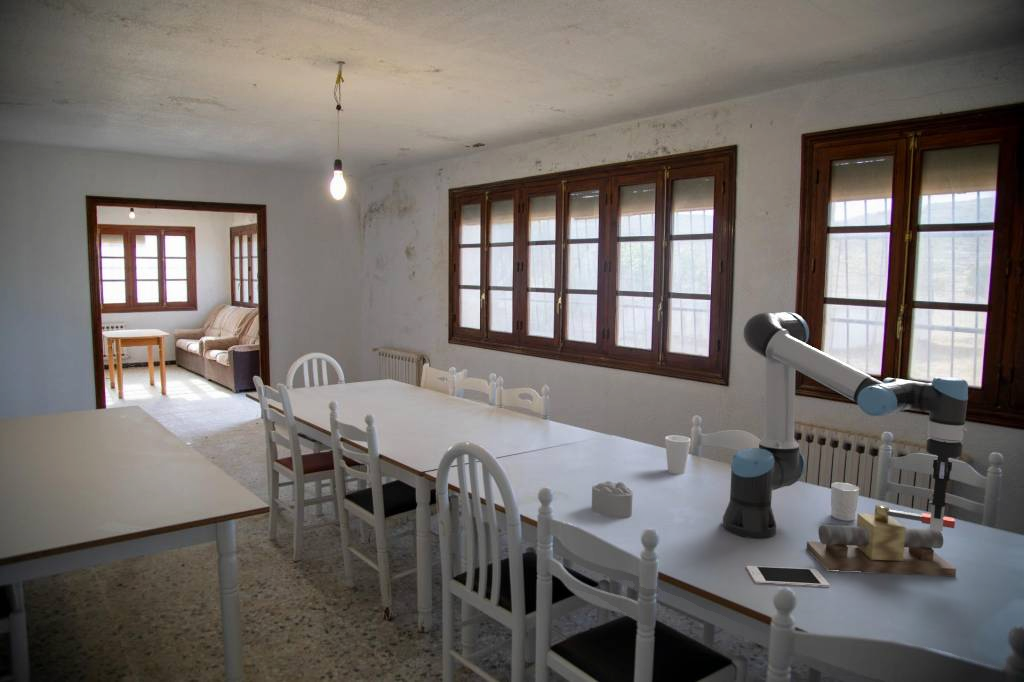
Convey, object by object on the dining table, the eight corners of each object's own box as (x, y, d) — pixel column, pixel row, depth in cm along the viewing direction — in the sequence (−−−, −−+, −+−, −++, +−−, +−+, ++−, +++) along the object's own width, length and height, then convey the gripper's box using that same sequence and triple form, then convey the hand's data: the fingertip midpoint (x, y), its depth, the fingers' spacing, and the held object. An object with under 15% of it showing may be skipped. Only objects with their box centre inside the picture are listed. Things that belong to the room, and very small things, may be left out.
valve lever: (953, 533, 164) (955, 520, 164) (874, 520, 173) (875, 507, 172) (952, 529, 167) (953, 516, 167) (874, 516, 176) (875, 503, 175)
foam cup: (669, 466, 257) (671, 434, 255) (692, 470, 251) (694, 437, 250) (660, 472, 249) (661, 439, 248) (683, 477, 244) (684, 443, 242)
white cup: (825, 517, 206) (827, 486, 205) (833, 510, 212) (835, 480, 211) (852, 523, 201) (855, 492, 200) (860, 517, 206) (862, 486, 205)
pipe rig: (828, 571, 169) (831, 528, 167) (806, 548, 182) (809, 508, 181) (955, 576, 167) (959, 533, 166) (924, 552, 181) (927, 512, 180)
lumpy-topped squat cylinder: (608, 501, 217) (609, 476, 216) (639, 513, 207) (640, 487, 206) (587, 509, 210) (588, 483, 209) (618, 521, 200) (619, 494, 199)
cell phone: (745, 568, 170) (745, 565, 170) (816, 572, 169) (816, 568, 169) (755, 584, 162) (755, 581, 161) (830, 588, 160) (830, 585, 160)
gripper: (963, 446, 156) (953, 541, 158) (962, 436, 167) (953, 525, 169) (926, 441, 160) (917, 533, 163) (928, 431, 171) (919, 518, 173)
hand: (935, 529), depth 166 cm, fingers closed
